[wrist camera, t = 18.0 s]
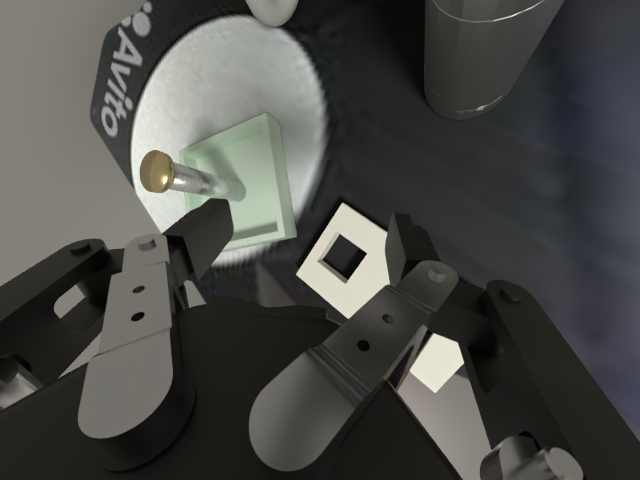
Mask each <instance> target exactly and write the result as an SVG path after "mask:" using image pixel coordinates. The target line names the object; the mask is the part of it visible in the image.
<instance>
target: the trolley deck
mask: <svg viewBox="0 0 640 480" xmlns="http://www.w3.org/2000/svg"><path fill="white" fill-rule="evenodd" d="M339 234H341V235H343V236H344V237H345V238H347V239H348V240H350V241H351V242H352V243H354V244H355V245H356V246H358V247H359V248H361V249H362V250H363V251H365V252H366V253H367V255H366V256H365V258H364V259H363V260H362V262H361V263H360V265H359V266H358V268H357V269H356V270H355V272H354V273H353V275H352V276H351V277H350V279H349V280H347V279H346V278H345V277H343V276H342V275H341V274H339V273H338V272H337V271H336V270H334V269H333V268H332V267H331V266H329V265H328V264H327V263H326V262H324V261H323V258H324V257H325V255H326V254H327V252H328V251H329V249H330V248H331V246H332V245H333V243H334V242H335V240H336V239H337V237H338V236H339ZM386 237H387V231H385V230H384V229H382V228H381V227H379V226H378V225H376V224H375V223H373V222H372V221H370V220H369V219H367V218H366V217H364V216H363V215H361V214H360V213H358V212H357V211H355V210H354V209H352V208H351V207H350V206H348V205H346V204H344V203H342V204H341V206H340V207H339V209H338V210H337V212H336V213H335V215H334V216H333V218H332V220H331V221H330V223H329V224H328V226H327V227H326V229H325V230H324V232H323V233H322V235H321V237H320V238H319V240H318V241H317V243H316V244H315V246H314V247H313V249H312V251H311V252H310V254H309V255H308V257H307V258H306V260H305V261H304V263H303V264H302V266H301V268H300V269H299V271H298V272H297V274H296V275H297V276H299V277H300V278H301V279H302V280H303V281H304V282H306V283H307V284H308V285H309V286H310V287H311V288H313V289H314V290H315V291H316V292H317V293H318V294H320V295H321V296H322V297H323V298H324V299H325V300H327V301H328V302H329V303H330V304H331V305H332V306H334V307H335V308H336V309H337V310H338V311H340V312H341V313H342V314H343V315H344V316H345V317H347V318H348V319H349V318H350V317H351V316H352V315H353V314H355V313H356V312H357V311H358V310H359V309H360V308H361V307H362V306H363V305H364V304H365V303H366V302H368V301H369V300H370V299H371V298H372V297H373V296H374V295H375V294H376V293H377V292H378V291H380V290H381V289H382V288H383V287H384V286H385V285H387V284H389V285H390V281H389V275H388V269H387V263H386V257H385V242H386ZM463 363H464V361H463V358H462V355H461V351H460V348H459V345H458V343H457V342H455V341H452V340H450V339H447V338H445V337H442V336H439V335H437V334H433V336H432V337H431V339H430V340H429V342H428V343H427V345H426V346H425V348H424V349H423V351H422V352H421V354H420V355H419V357H418V358H417V360H416V361H415V363H414V364H413V366H412V367H411V369H410V372H411V373H412V374H413V375H414V376H416V377H417V378H418V379H419V380H420V381H421V382H423V383H424V384H425V385H426V386H427V387H428V388H430V389H431V390H432V391H433V392H434V393H436V392H437V391H438V390H439V389H440V388H441V386H442V385H443V384H444V383H445V382H446V381H447V380H448V379H449V378H450V377H451V376H452V375H453V374H454V373H455V372H456V371H457V370H458V368H459V367H460V366H461V365H462V364H463Z"/></svg>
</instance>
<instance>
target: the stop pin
mask: <svg viewBox="0 0 640 480" xmlns="http://www.w3.org/2000/svg"><path fill="white" fill-rule="evenodd" d="M140 180H141V183H142V185H143V187H144V188H145V189H146V190H147V191H150V192H155V193H163V192H165V191H167V190H168V189H172V190H177V191H182V192H187V193H192V194H198V195H203V196H208V197H213V198H220V199H227V200H229V201H234V202H240V201H242V200H243V199H244V198H245V195H246V188H245V186H244V185H243V184H242V183H240V182H236V181H233V180H230V179H227V178H223V177H220V176H217V175H214V174H210V173H207V172H204V171H201V170H197V169H194V168H191V167H188V166H184V165H181V164H178V163H174V162H173V161H172V159H171V157H170V156H169V155H168V154H166V153H163V152H160V151H157V150H153V151H150V152H149V153H147V154H146V155H145V157H144V158H143V160H142V163H141V166H140Z"/></svg>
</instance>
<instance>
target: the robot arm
mask: <svg viewBox="0 0 640 480" xmlns="http://www.w3.org/2000/svg"><path fill="white" fill-rule="evenodd" d="M563 2H564V0H425V65H424V93H425V98H426V100H427V102H428V105H429V106H430V107H431V108H432V110H433V111H435V112H436V113H437V114H439V115H440V116H443V117H445V118H449V119H455V120H463V119H470V118H474V117H477V116H480V115H482V114H485V113H486V112H488V111H490V110H491V109H493V108H494V107H496V106H497V105H498V104H499V103H500V102H501V101H502V100H503V99H504V98H505V97H506V95H507V94H508V93H509V91H510V90H511V88H512V86H513V85H514V83H515V81H516V80H517V78H518V76H519V75H520V73H521V71H522V70H523V68H524V67H525V65H526V63H527V62H528V60H529V58H530V57H531V55H532V53H533V52H534V50H535V48H536V47H537V45H538V43H539V42H540V40H541V38H542V37H543V35H544V33H545V32H546V30H547V28H548V27H549V25H550V23H551V22H552V20H553V18H554V17H555V15H556V13H557V12H558V10H559V8H560V7H561V5H562V3H563ZM233 233H234V225H233V220H232V215H231V210H230V205H229V202H228V200H227V199H220V198H210V199H208V200H207V201H206V202H205V203H203V204H202V205H201V206H200V207H198V208H195V209H193V210H191V211H189V212H188V213H187V214H186V215H184V217H182V218H181V219H179V220H178V222H176V223H174V224H173V225H172V226H171V227H170V228H168V229H167V230H166V231H165V232H163V233H162V234H149V235H144V236H141V237H138V238H136V239H134V240H132V241H130V242H129V243H128V244H127V245H126V246H125V248H123V249H113V250H108V249H107V247H106V245H105V243H104V242H103V241H102V240H100V239H86V240H81V241H77V242H74V243H72V244H69V245H67V246H65V247H63V248H62V249H60V250H58V251H57V252H55V253H54V254H52V255H50V256H49V257H47V258H46V259H44V260H42V261H41V262H39V263H37V264H36V265H34V266H33V267H31V268H29V269H28V270H26V271H25V272H23V273H21V274H20V275H18V276H17V277H15V278H13V279H12V280H10V281H8V282H7V283H5V284H4V285H2V286H0V480H463V479H462V478H461V476H460V475H459V474H458V472H457V471H456V469H455V468H454V467H453V465H452V464H451V463H450V462H449V460H448V459H447V457H446V456H445V455H444V453H443V452H442V451H441V450H440V448H439V447H438V446H437V444H436V443H435V442H434V440H433V439H432V438H431V436H430V435H429V434H428V432H427V431H426V430H425V428H424V427H423V426H422V424H421V423H420V422H419V420H418V419H417V418H416V416H415V415H414V414H413V412H412V411H411V410H410V408H409V407H408V406H407V404H406V403H405V402H404V401H403V399H402V398H401V396H400V395H399V394H398V392H397V391H398V389H399V388H400V386H401V385H402V383H403V381H404V380H405V378H406V376H407V374H408V372H409V371H410V369H411V367H412V366H413V364H414V363H415V361H416V360H417V358H418V357H419V355H420V354H421V352H422V351H423V349H424V348H425V346H426V345H427V343H428V342H429V340H430V339H431V337H432V336H433V334H437V335H439V336H442V337H445V338H447V339H450V340H452V341H455V342H457V343H458V345H459V348H460V351H461V355H462V358H463V361H464V364H465V367H466V370H467V374H468V377H469V380H470V383H471V386H472V389H473V393H474V396H475V399H476V402H477V405H478V408H479V412H480V415H481V418H482V421H483V424H484V427H485V430H486V434H487V437H488V440H489V443H490V446H491V449H492V451H491V452H490V453H488V454H487V455H486V456H485V457H484V458H483V460H482V462H481V466H480V478H481V480H640V442H639V440H638V439H637V438H636V436H635V435H634V434H633V432H632V431H631V429H630V428H629V427H628V425H627V424H626V423H625V421H624V420H623V418H622V417H621V416H620V414H619V413H618V412H617V410H616V409H615V408H614V406H613V405H612V403H611V402H610V401H609V399H608V398H607V397H606V395H605V394H604V392H603V391H602V390H601V388H600V387H599V386H598V384H597V383H596V381H595V380H594V379H593V377H592V376H591V375H590V373H589V372H588V371H587V369H586V368H585V366H584V365H583V364H582V362H581V361H580V360H579V358H578V357H577V355H576V354H575V353H574V351H573V350H572V349H571V347H570V346H569V344H568V343H567V342H566V340H565V339H564V338H563V336H562V335H561V334H560V332H559V331H558V329H557V328H556V327H555V325H554V324H553V323H552V321H551V320H550V318H549V317H548V316H547V314H546V313H545V312H544V310H543V309H542V307H541V306H540V305H539V303H538V302H537V301H536V299H535V298H534V297H533V296H532V295H531V294H530V293H529V292H528V291H526V290H525V289H523V288H522V287H520V286H518V285H516V284H513V283H511V282H507V281H503V280H492V281H490V282H488V283H487V285H486V287H485V288H484V289H483V288H480V287H477V286H474V285H470V284H467V283H464V282H462V281H459V277H458V274H457V273H456V272H455V271H454V270H453V269H452V268H451V267H449V266H448V265H446V264H444V263H441V261H440V259H439V257H438V255H437V252H436V250H435V248H434V246H433V244H432V242H431V240H430V237H429V235H428V233H427V231H425V230H424V229H423V228H422V227H421V226H419V225H413V223H412V220H411V217H410V215H409V214H400V213H392V215H391V219H390V223H389V228H388V232H387V237H386V242H385V257H386V263H387V269H388V275H389V281H390V285H389V284H387V285H385V286H384V287H383V288H382V289H381V290H380V291H378V292H377V293H376V294H375V295H374V296H373V297H372V298H371V299H370V300H369V301H368V302H366V303H365V304H364V305H363V306H362V307H361V308H360V309H359V310H358V311H357V312H356V313H355V314H353V315H352V316H351V317H350V318H349V319H348V320H347V321H346V322H345V323H344V324H343V325H341V324H340V323H338V322H336V321H334V320H332V319H329V318H327V308H319V307H310V306H302V305H294V306H283V307H271V308H267V307H263V306H261V305H258V304H255V303H252V302H250V301H247V300H244V299H241V298H233V297H225V296H216V295H214V296H213V297H212V299H211V300H210V302H209V303H208V304H204V305H198V306H195V307H191V308H189V305H188V299H187V294H186V289H185V286H184V282H185V281H186V280H189V281H199V280H200V279H201V277H202V276H203V275H204V273H205V272H206V271H207V270H208V268H209V267H210V266H211V264H212V263H213V262H214V261H215V259H216V258H217V257H218V255H219V254H220V253H221V251H222V250H223V249H224V248H225V246H226V245H227V244H228V242H229V241H230V240H231V239H232V237H233ZM74 285H77V286H78V287H79V289H80V290H81V292H82V293H83V295H84V296H85V298H84V299H83V300H82V301H80V302H79V303H78V304H77V305H76V306H75V307H73V308H72V309H71V310H70V311H69V312H68V313H67V314H65V315H64V316H63V317H62V318H61V319H60V318H59V317H58V316H57V315H56V314H55V312H54V304H55V302H56V301H57V299H58V298H59V297H60V296H62V295H63V294H64V293H65V292H67V291H68V290H69V289H71V288H72V287H73V286H74ZM101 331H102V334H101V341H100V346H99V351H98V353H97V355H95V356H93V357H92V358H91V360H90V361H89V362H88V363H86V364H84V365H82V366H80V367H79V368H77V369H75V370H73V371H71V372H69V373H67V374H66V375H64V376H62V377H60V375H61V374H62V373H63V372H64V371H65V370H66V369H67V368H68V367H69V366H70V365H71V364H72V362H74V360H75V359H76V358H77V357H78V356H79V355H80V354H81V353H82V352H83V351H84V350H85V349H86V348H87V346H88V345H89V344H90V343H91V342H92V341H93V340H94V339H95V338H96V337H97V336H98V334H99V333H100V332H101ZM59 377H60V378H59Z"/></svg>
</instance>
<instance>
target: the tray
mask: <svg viewBox="0 0 640 480" xmlns="http://www.w3.org/2000/svg"><path fill="white" fill-rule="evenodd" d="M179 157H180V164H181V165H184V166H188V167H191V168H194V169H197V170H201V171H204V172H207V173H210V174H214V175H217V176H220V177H223V178H227V179H230V180H233V181H236V182H240V183H242V184H243V185H244V186H245V188H246V195H245V198H244V199H243V200H242V201H240V202H234V201H229V200H228V202H229V205H230V210H231V215H232V220H233V225H234V233H233V237H232V239H231V240H230V241H229V242H228V244H227V245H226V246H225V248H224V249H223V250H222V251H221V252H224V251H229V250H234V249H239V248H244V247H249V246H254V245H259V244H264V243H269V242H274V241H279V240H284V239H289V238H294V237H297V232H296V226H295V220H294V213H293V207H292V201H291V194H290V188H289V182H288V175H287V169H286V163H285V156H284V150H283V144H282V137H281V131H280V125H279V122H278V121H276V120H275V119H274V118H273V117H271V116H270V115H269V114H268V113H266V112H265V113H263V114H261V115H259V116H256V117H254V118H252V119H250V120H247V121H245V122H243V123H241V124H239V125H236V126H234V127H232V128H230V129H227V130H225V131H223V132H221V133H218V134H216V135H214V136H212V137H209V138H207V139H205V140H203V141H200V142H198V143H196V144H194V145H192V146H189V147H187V148H185V149H183V150H180V151H179ZM184 195H185V202H186V210H187V213H188V212H189V211H191V210H193V209H195V208H198V207H200V206H201V205H202V204H203V203H205V202H206V201H207V200H208V199H210V198H213V197H208V196H203V195H198V194H192V193H187V192H184Z"/></svg>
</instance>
